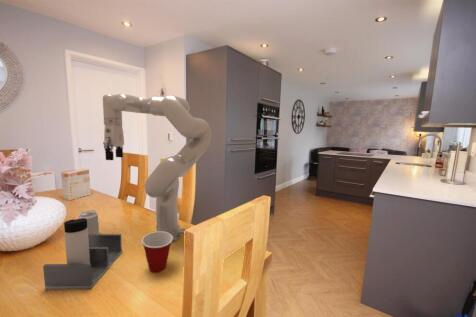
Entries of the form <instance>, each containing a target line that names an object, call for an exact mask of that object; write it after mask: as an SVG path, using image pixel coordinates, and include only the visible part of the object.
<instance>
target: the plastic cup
mask: <svg viewBox="0 0 476 317" xmlns="http://www.w3.org/2000/svg"><path fill="white" fill-rule="evenodd" d="M172 240H173V236H172V235H171V234H170V233H167V232H162V231H158V232H157V231H153V232H149V233H147V234H145V235H143V237H142V238H141V244H142V245H143V248H144V252H145V258H146V262H147V266H148V269H149V271H150V272H151V273H155V274H156V273H161V272H163V271H165V269H166V268H167V267H166V266H167V263H168V259H169V252H170V246H171V244H172V243H173V242H172Z"/></svg>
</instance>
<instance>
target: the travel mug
mask: <svg viewBox="0 0 476 317" xmlns="http://www.w3.org/2000/svg"><path fill="white" fill-rule="evenodd" d="M63 228H64V243H65V254H66V255H65V257H66V264H90V255H89V239H88V226H87V219H86V218H81V219H79V218H77V219H69V220H66V221H65V222H63Z"/></svg>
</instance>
